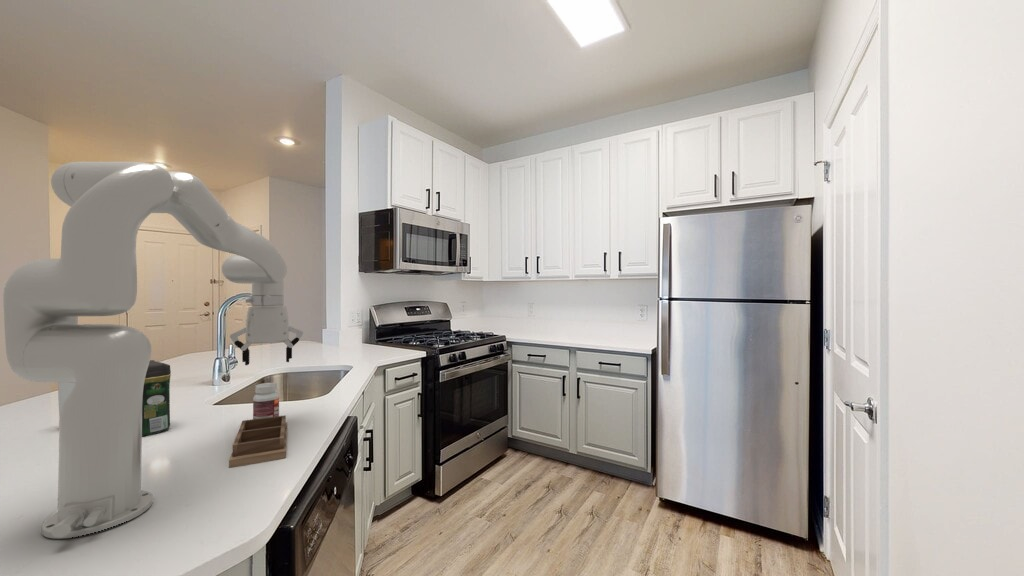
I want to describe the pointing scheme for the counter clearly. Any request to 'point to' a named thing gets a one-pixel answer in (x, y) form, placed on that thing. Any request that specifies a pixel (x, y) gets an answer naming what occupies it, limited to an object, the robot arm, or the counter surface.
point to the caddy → (259, 441)
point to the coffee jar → (156, 398)
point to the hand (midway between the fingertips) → (267, 362)
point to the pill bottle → (266, 401)
